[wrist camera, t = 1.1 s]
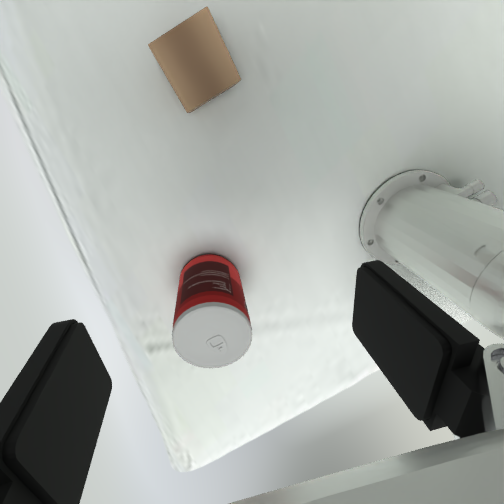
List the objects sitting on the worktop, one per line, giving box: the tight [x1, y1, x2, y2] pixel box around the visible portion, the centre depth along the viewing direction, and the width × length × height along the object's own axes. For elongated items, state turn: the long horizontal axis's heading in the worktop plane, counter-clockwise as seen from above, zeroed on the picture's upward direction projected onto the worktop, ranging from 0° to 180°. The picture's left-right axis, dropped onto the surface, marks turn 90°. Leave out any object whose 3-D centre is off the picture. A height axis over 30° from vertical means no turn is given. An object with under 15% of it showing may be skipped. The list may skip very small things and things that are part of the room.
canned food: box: [172, 254, 252, 368], centre depth 32 cm, size 8×8×11 cm
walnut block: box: [148, 7, 241, 113], centre depth 24 cm, size 5×5×6 cm
